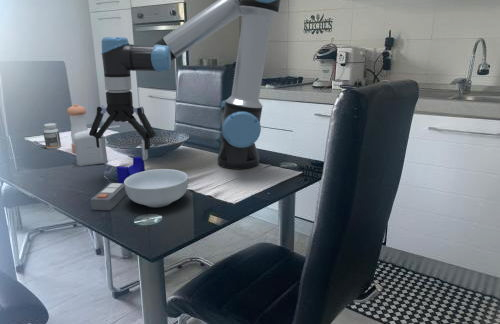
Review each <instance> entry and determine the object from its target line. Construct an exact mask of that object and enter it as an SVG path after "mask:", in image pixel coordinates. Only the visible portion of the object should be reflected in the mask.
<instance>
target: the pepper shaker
mask: <svg viewBox="0 0 500 324" xmlns="http://www.w3.org/2000/svg"><path fill="white" fill-rule="evenodd" d="M66 113H67V115H69V121H70V127H71V129H70V139H71V144H70V145H71V151H72V154H76V151H75V145H74V135H75V134H76V133H78V132H81V131H86V130H89V129H88V127H87V121H86V116H85V115H86V113H87V109H86V108H85V106H82V105H79V104H78V103H74V104H73V105H72V106H69V107H68V108H67V110H66Z"/></svg>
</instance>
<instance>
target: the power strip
mask: <svg viewBox="0 0 500 324" xmlns="http://www.w3.org/2000/svg"><path fill="white" fill-rule="evenodd" d="M126 196H127V193H126V191H125V186H124V183H117V182H116V183H115V182H114V183H113V182H112V183H111V182H109V183H108V184H107V185H106V186H104V188H102V189H101V190H100V191H98V193H96V194H95V195H94V196H93V197H91V199H90V203H91V210H92V211H112V210H113V209H114V208H115V207H116V206H117V205H118V204H119V203H120V202H121V200H123V199H124V198H125V197H126Z"/></svg>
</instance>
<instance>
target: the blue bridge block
mask: <svg viewBox="0 0 500 324" xmlns="http://www.w3.org/2000/svg"><path fill="white" fill-rule="evenodd" d="M132 161H133V162H132V164H131V165H129V166H121V165H119V166H117V167H116V173H117V182H118V183H124V181H125V179H126V178H127V177H129V176H131V175H133V174H136V173H139V172H143V171H146V168H145V160H143V156H134V157H132Z"/></svg>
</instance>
